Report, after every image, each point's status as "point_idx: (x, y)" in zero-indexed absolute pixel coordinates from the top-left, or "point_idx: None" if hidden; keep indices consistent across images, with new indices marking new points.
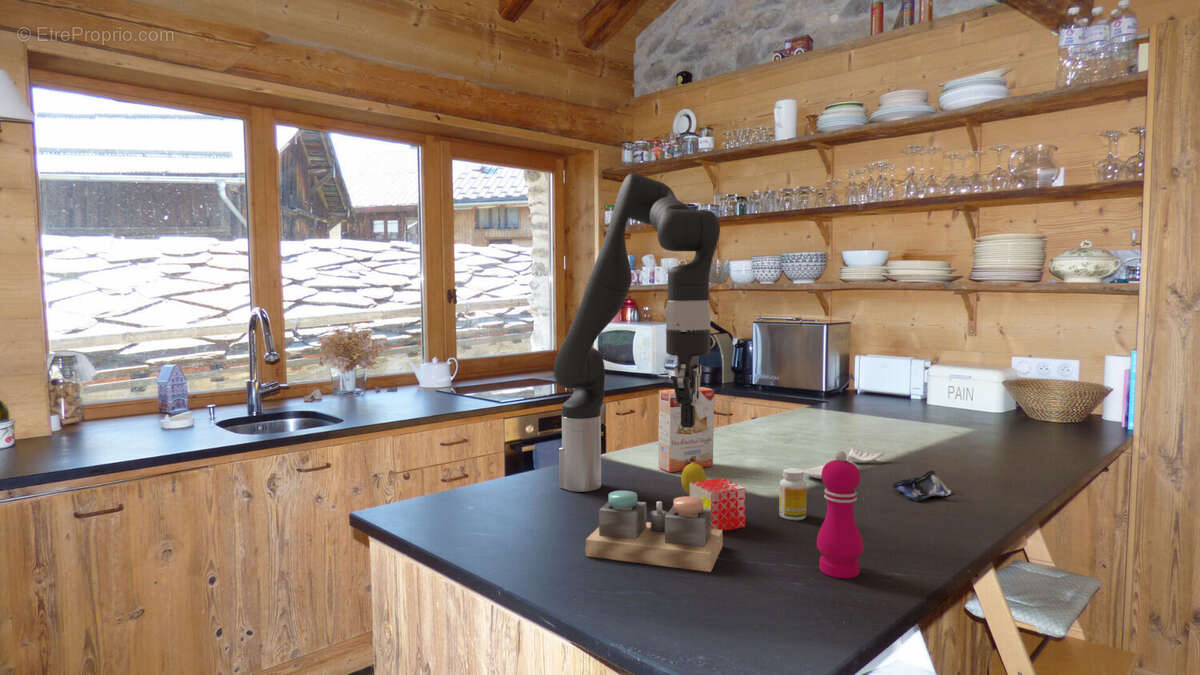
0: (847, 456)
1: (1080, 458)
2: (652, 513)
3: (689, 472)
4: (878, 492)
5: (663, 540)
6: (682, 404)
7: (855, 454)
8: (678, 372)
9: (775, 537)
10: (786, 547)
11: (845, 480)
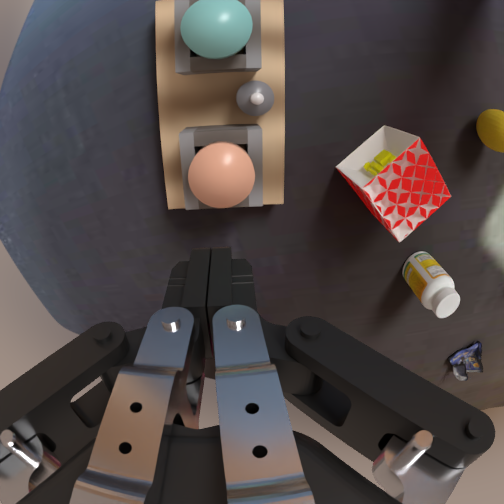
0: None
1: (500, 404)
2: (247, 85)
3: (499, 127)
4: (477, 328)
5: (196, 121)
6: (140, 333)
7: None
8: (19, 501)
9: (335, 257)
10: (300, 274)
11: None
